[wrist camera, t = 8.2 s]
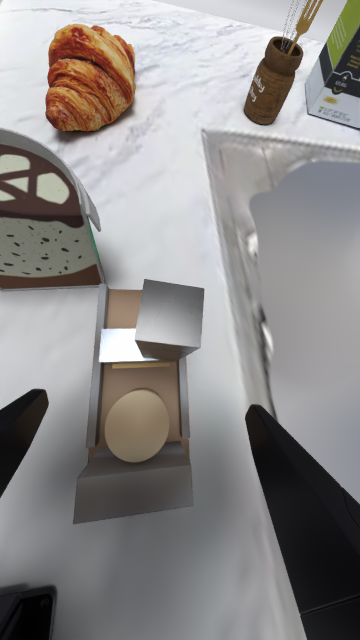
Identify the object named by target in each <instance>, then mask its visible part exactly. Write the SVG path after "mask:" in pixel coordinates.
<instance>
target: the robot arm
mask: <svg viewBox="0 0 360 640" xmlns="http://www.w3.org/2000/svg"><path fill="white" fill-rule="evenodd" d="M48 405H49V401H48V397H47V393H46V390H44V389H32V390H30V391H29V392H27V393H26V394H24V395H23V396H21V397H20V398H18V399H16V400H15V401H13V402H12V403H10V404H9V405H7V406H6V407H4V408H2V409H1V410H0V498H1V496H2V494H3V492H4V491H5V489H6V487H7V486H8V484H9V482H10V480H11V479H12V477H13V475H14V473H15V472H16V470H17V468H18V467H19V465H20V463H21V461H22V460H23V458H24V456H25V454H26V453H27V451H28V449H29V447H30V445H31V443H32V441H33V439H34V437H35V434H36V432H37V430H38V428H39V426H40V424H41V421H42V419H43V417H44V415H45V413H46V411H47V408H48ZM245 421H246V426H247V431H248V436H249V441H250V446H251V451H252V455H253V459H254V463H255V466H256V469H257V473H258V476H259V479H260V483H261V486H262V489H263V493H264V496H265V499H266V503H267V506H268V509H269V513H270V516H271V520H272V523H273V526H274V530H275V533H276V536H277V540H278V543H279V546H280V550H281V553H282V556H283V560H284V563H285V566H286V570H287V573H288V577H289V580H290V583H291V587H292V590H293V593H294V597H295V600H296V603H297V607H298V610H299V613H300V617H301V621H302V624H303V627H304V631H305V634H306V637H307V640H360V504H359V503H358V502H357V501H356V500H355V499H354V498H353V497H352V496H351V495H350V494H349V493H348V492H347V491H346V490H345V489H344V488H342V487H341V486H340V484H339V483H338V482H337V481H336V480H335V479H334V478H333V477H332V476H331V475H330V474H329V473H328V472H327V471H326V470H325V469H324V468H323V467H322V466H321V465H320V464H319V463H318V462H317V461H316V460H315V459H314V458H313V457H312V456H311V455H310V454H309V453H308V452H307V451H306V450H305V449H304V448H303V447H302V446H301V445H300V444H299V443H298V442H297V441H296V440H295V439H294V438H293V437H292V436H291V435H290V434H289V433H288V432H287V431H286V430H285V429H284V428H283V427H282V426H281V425H280V424H279V423H278V422H277V421H276V420H275V419H274V418H273V417H272V416H271V415H270V414H269V413H268V412H267V411H266V410H265V409H264V408H263V407H262V406H261V405H258V404H252V405H250V407H249V409H248V411H247V413H246V416H245ZM44 599H48V600H49V602H45V601H44ZM55 600H56V591H55V589H54V588H52V587H47V588H42V589H37V590H32V591H27V592H22V593H14V594H8V595H3V596H0V640H51V638H52V629H53V619H54V609H55Z"/></svg>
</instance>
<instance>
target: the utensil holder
mask: <svg viewBox="0 0 360 640" xmlns="http://www.w3.org/2000/svg"><path fill="white" fill-rule="evenodd" d="M322 1H323V0H320V1H319V3H318V5H317V7H316V8H315V10H314V13H313V14H312V16H311V18H310V19H308V18H309V16H310V14H311V12H312V10H313V8H314V6H315V4H316V2H317V0H314V1H313V3H312V5H311V7H310V9H309V6H310V3H311V0H308V2H307V4H306V6H305V8H304V9H303V12H302V14H301V17H300V19H299V21H298V23H297V25H296V31H297V34H296V35H297V36H295V37H296V38H294V39H295V40H294V39H293V40H294V41H292V40H291V39H287V38H284V37H273V38H272V39H271V40H270V42H269V44H268V46H267V48H266V51H265V58H263V59H262V61H261V62H260V64H259V66H258V68H257V70H256V73H255V75H254V78H253V81H252V84H251V87H250V90H249V93H248V96H247V99H246V102H245V107H244V110H245V113H246V115H247V116H248V117H249V118H250V119H251V120H252V121H254V122H256V123H259V124H264V125H267V124H271V123H272V122H273V121H274V120H275V119H276V117H277V116H278V114H279V112H280V110H281V108H282V106H283V104H284V102H285V100H286V97H287V95H288V93H289V91H290V89H291V87H292V84H293V82H294V78H295V70H297V69H298V67H299V65H300V63H301V60H302V57H303V50H302V48H301V47H300V46H299V45H298V44H297V43H296V42H297V40H298V38H299V36H300V35H301V34H303V33H306V32H307V31H308V29H309V27H310V25H311V23H312V21H313V19H314V17H315V15H316V13H317V11H318V9H319V7H320V5H321V3H322ZM291 6H292V5H291ZM291 8H292V7H291ZM307 9H309V11H308V10H307ZM306 11H308V13H307V12H306ZM305 13H306V14H307V15H306V16H305V17H304V15H305ZM288 16H289V15H288ZM303 17H304V18H303ZM285 25H286V24H285ZM285 27H286V26H285ZM284 33H285V32H284ZM284 33H283V35H284ZM286 35H287V34H286ZM287 36H288V35H287ZM291 36H293V35H291ZM291 38H292V37H291Z"/></svg>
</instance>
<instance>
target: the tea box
mask: <svg viewBox="0 0 360 640" xmlns="http://www.w3.org/2000/svg"><path fill="white" fill-rule="evenodd" d="M305 91H306V100H307V108H308V113H309V114H312V115H315V116H319V117H322V118H326V119H329V120H333V121H336V122H339V123H343V124H346V125H350V126H353V127H357V128H360V0H348V1H347V3H346V5H345V7H344V9H343V11H342V13H341V15H340V17H339V18H338V21H337V22H336V24H335V26H334V28H333V30H332V32H331V34H330V36H329V38H328V40H327V42H326V43H325V45H324V47H323V49H322V51H321V53H320V55H319V57H318V59H317V61H316V63H315V65H314V67H313V69H312V71H311V73H310V75H309V77H308V79H307V81H306V84H305Z"/></svg>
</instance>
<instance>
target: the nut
mask: <svg viewBox="0 0 360 640" xmlns="http://www.w3.org/2000/svg"><path fill="white" fill-rule="evenodd" d="M168 432H169V415H168V412H167V409H166V407H165V405H164V402H163V400H162V398H161V397H160V396H159V394H158V393H156V392H155V391H154V390H151V389H149V388H137V389H134V390H132V391H130V392H128V393H127V394H126V395H124V396H123V397H122V398H120V399H119V400H118V401H117V402H116V403H115V404H114V405H113V407H112V408H111V410H110V411H109V413H108V416H107V418H106V422H105V438H106V442H107V444H108V447H109V448H110V450H111V451H112V453H113V454H114V455H115V456H117V457H118V458H120V459H121V460H124V461H127V462H141V461H144V460H147V459H149V458H151V457H152V456H154V455H155V454H156V453H157V452H158V451H159V450H160V449H161V447H162V446H163V445H164V443H165V441H166V438H167V436H168Z"/></svg>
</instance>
